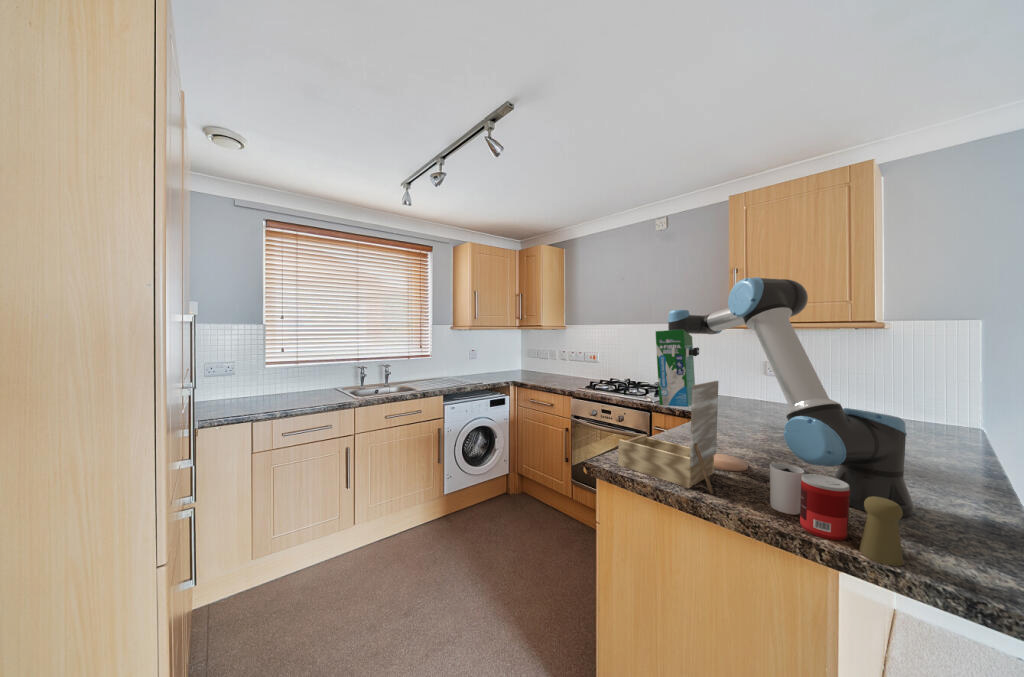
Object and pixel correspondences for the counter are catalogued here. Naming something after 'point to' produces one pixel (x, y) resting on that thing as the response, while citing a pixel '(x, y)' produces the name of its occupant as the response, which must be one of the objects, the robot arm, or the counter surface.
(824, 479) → the canned food
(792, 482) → the white cylindrical container
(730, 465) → the peach round coaster
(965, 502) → the counter surface
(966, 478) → the counter surface
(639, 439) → the cold frame
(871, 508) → the cork
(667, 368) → the milk carton
